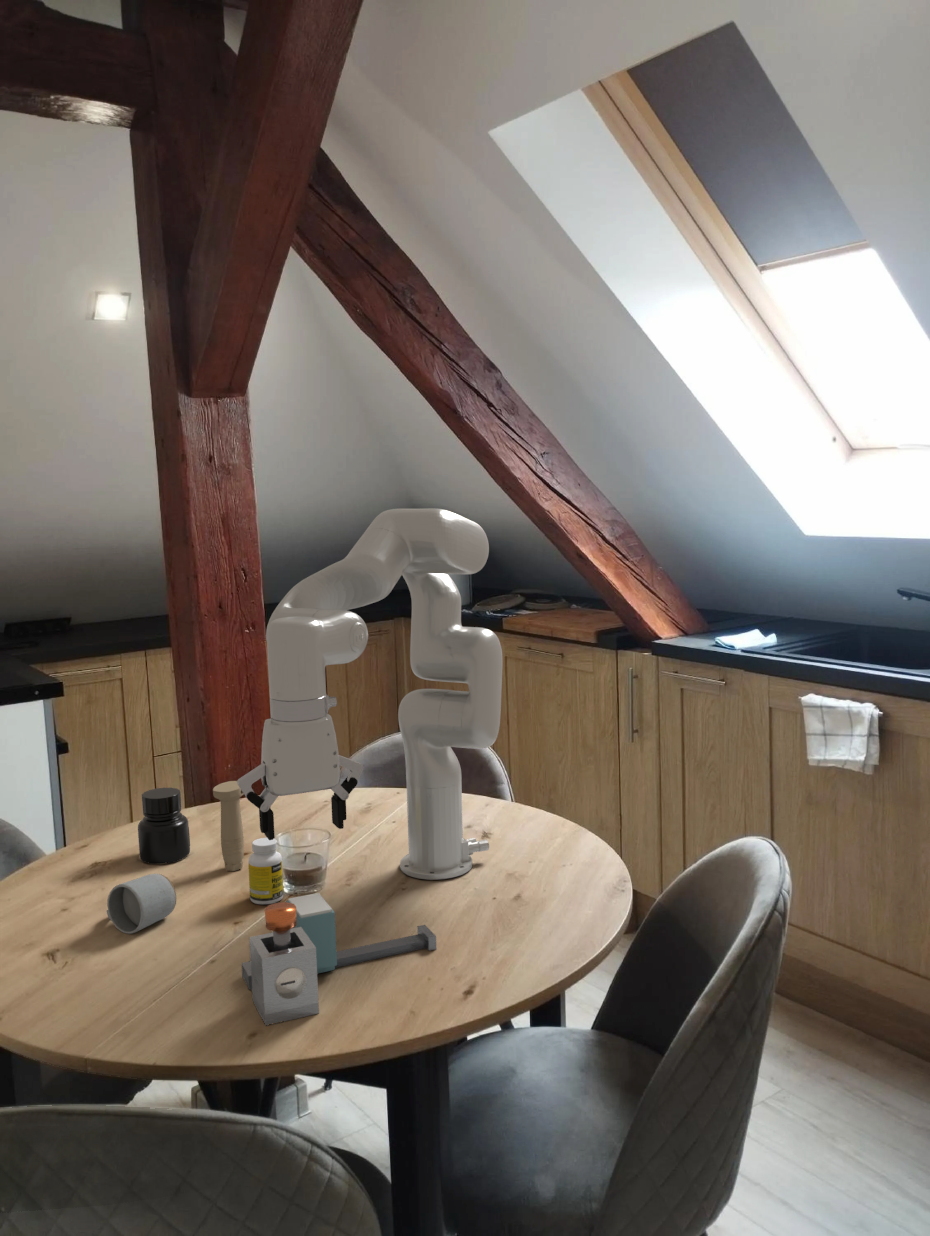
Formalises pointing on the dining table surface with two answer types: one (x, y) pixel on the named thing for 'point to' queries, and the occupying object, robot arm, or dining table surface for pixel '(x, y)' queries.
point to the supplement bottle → (265, 872)
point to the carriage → (318, 928)
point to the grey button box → (284, 977)
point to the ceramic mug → (141, 902)
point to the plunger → (281, 923)
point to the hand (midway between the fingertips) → (304, 831)
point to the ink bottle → (163, 827)
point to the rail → (372, 951)
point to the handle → (231, 824)
